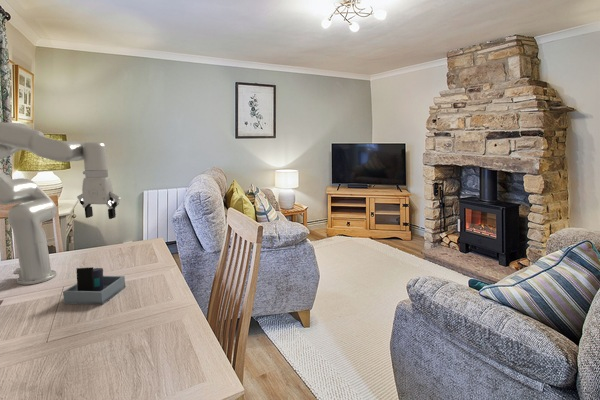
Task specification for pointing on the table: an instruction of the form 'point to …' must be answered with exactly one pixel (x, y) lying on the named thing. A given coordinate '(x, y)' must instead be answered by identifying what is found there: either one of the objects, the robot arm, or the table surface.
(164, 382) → the table surface
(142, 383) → the table surface
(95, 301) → the open box
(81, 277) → the speaker
